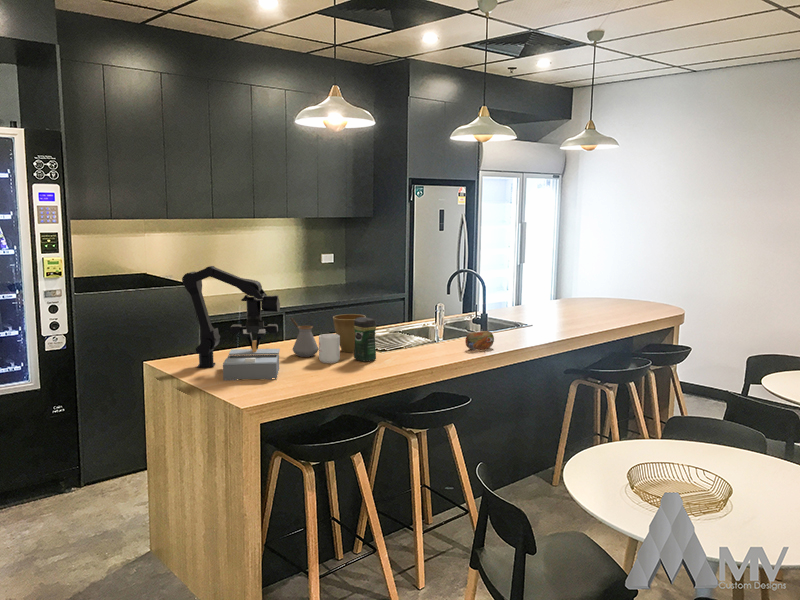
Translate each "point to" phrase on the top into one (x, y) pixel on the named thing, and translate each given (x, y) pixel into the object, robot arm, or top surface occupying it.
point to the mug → (329, 348)
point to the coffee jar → (364, 339)
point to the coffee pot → (304, 341)
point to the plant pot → (346, 330)
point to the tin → (479, 340)
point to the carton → (251, 369)
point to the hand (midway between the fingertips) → (254, 349)
